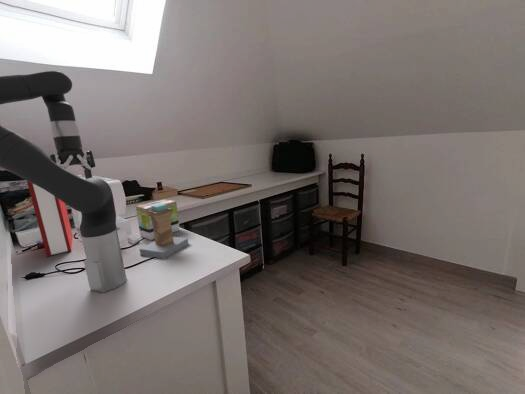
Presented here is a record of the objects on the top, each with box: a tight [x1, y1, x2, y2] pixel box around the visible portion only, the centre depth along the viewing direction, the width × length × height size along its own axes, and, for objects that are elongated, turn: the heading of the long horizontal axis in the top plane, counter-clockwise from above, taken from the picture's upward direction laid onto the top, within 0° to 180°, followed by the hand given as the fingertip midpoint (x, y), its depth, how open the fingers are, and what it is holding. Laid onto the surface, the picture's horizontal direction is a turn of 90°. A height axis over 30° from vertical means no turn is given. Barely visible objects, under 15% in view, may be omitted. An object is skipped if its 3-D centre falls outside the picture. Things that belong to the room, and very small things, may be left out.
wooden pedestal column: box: [147, 208, 174, 247], centre depth 106 cm, size 6×6×14 cm
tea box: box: [135, 199, 181, 241], centre depth 126 cm, size 15×10×15 cm
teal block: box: [151, 204, 167, 213], centre depth 105 cm, size 4×4×3 cm
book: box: [26, 180, 73, 258], centre depth 118 cm, size 27×8×32 cm, turn 34°
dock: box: [139, 236, 189, 260], centre depth 108 cm, size 14×12×2 cm
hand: (77, 182), depth 96 cm, fingers open, 8 cm apart
